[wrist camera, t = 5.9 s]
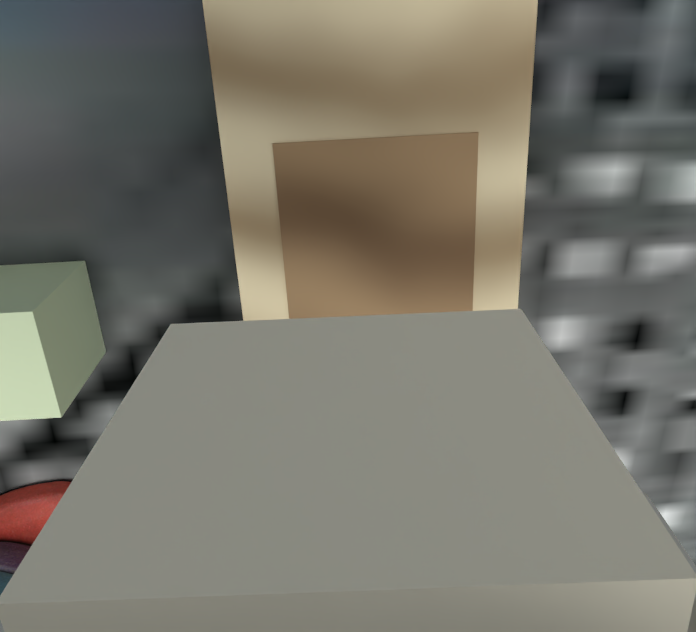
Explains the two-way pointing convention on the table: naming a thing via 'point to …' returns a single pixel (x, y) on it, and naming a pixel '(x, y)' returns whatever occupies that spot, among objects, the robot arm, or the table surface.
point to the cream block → (352, 492)
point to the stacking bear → (24, 522)
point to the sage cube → (46, 338)
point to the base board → (374, 152)
